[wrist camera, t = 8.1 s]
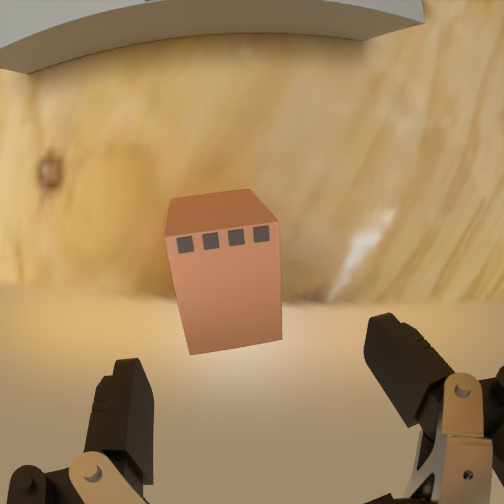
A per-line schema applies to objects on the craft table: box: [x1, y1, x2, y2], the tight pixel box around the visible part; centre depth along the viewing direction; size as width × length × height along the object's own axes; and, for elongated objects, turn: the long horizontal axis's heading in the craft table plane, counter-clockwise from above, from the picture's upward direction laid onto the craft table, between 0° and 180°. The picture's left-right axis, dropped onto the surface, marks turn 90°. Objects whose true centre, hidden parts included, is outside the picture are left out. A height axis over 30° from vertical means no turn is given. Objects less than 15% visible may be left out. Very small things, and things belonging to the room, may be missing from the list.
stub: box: [165, 189, 282, 355], centre depth 16 cm, size 4×6×6 cm
